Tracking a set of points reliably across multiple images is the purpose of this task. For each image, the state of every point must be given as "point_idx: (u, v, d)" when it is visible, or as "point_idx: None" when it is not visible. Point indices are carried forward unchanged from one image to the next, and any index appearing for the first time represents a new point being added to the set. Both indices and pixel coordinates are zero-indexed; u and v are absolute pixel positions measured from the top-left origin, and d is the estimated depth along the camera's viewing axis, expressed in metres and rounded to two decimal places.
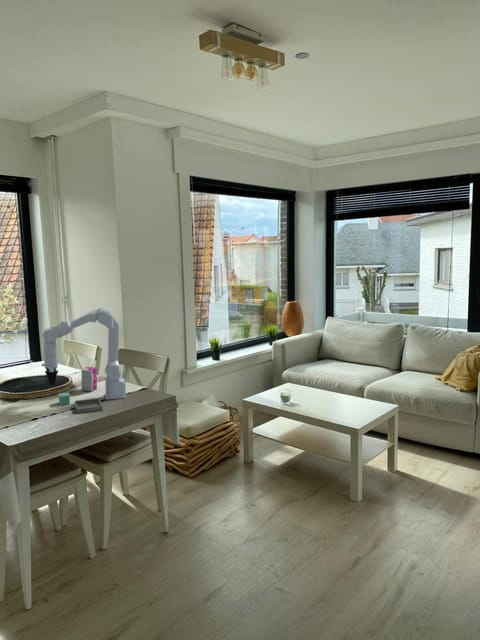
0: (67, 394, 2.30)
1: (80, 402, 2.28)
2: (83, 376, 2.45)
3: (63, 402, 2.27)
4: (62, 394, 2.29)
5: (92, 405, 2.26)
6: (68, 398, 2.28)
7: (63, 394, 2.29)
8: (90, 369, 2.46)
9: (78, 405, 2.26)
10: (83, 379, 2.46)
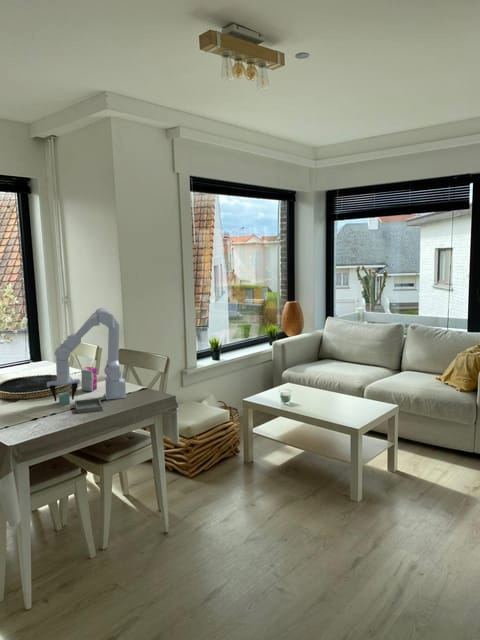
0: (67, 394, 2.30)
1: (80, 402, 2.28)
2: (83, 376, 2.45)
3: (63, 402, 2.27)
4: (62, 394, 2.29)
5: (92, 405, 2.26)
6: (68, 398, 2.28)
7: (63, 394, 2.29)
8: (90, 369, 2.46)
9: (78, 405, 2.26)
10: (83, 379, 2.46)
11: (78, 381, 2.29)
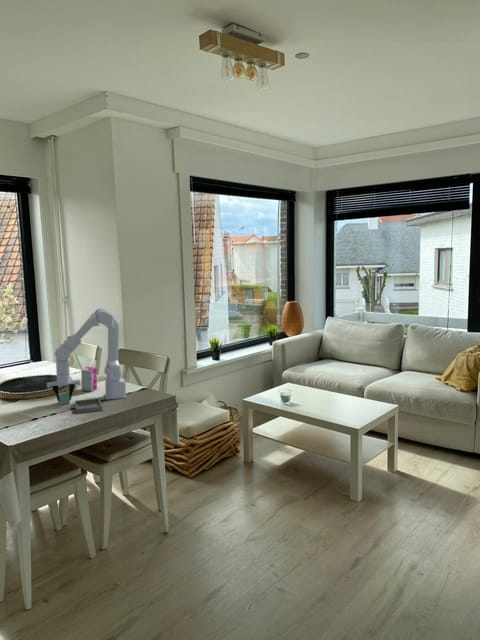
0: (67, 393, 2.30)
1: (80, 402, 2.28)
2: (83, 376, 2.45)
3: (63, 402, 2.27)
4: (62, 394, 2.29)
5: (92, 405, 2.26)
6: (68, 398, 2.28)
7: (63, 394, 2.29)
8: (90, 369, 2.46)
9: (78, 405, 2.26)
10: (83, 379, 2.46)
11: (78, 382, 2.29)
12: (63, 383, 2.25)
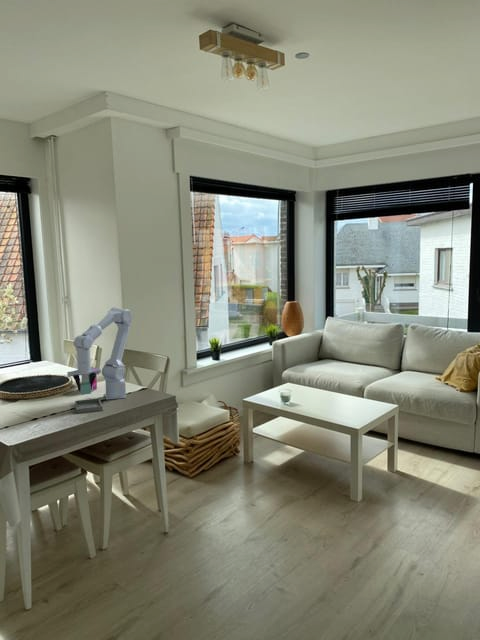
0: (87, 382, 2.24)
1: (80, 402, 2.28)
2: (83, 376, 2.45)
3: (84, 391, 2.22)
4: (83, 383, 2.23)
5: (92, 405, 2.26)
6: (89, 387, 2.23)
7: (84, 383, 2.23)
8: None
9: (78, 405, 2.26)
10: (83, 379, 2.46)
11: (99, 370, 2.25)
12: (85, 372, 2.20)
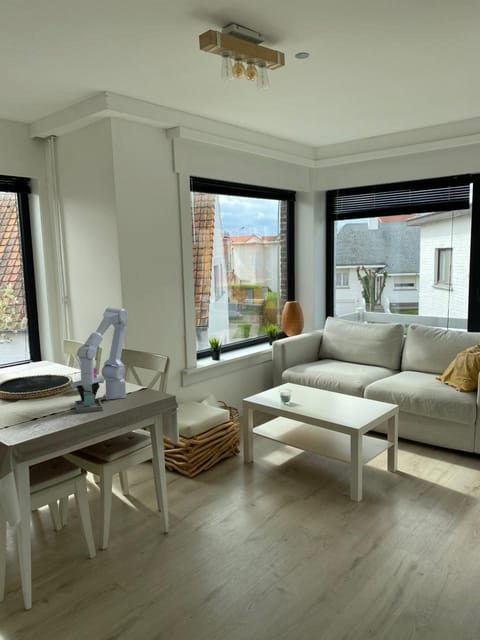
0: (91, 393, 2.25)
1: (80, 402, 2.28)
2: None
3: (88, 402, 2.22)
4: (86, 394, 2.23)
5: (92, 405, 2.26)
6: (93, 397, 2.23)
7: (87, 393, 2.23)
8: None
9: (78, 405, 2.26)
10: None
11: (102, 380, 2.25)
12: (89, 382, 2.20)
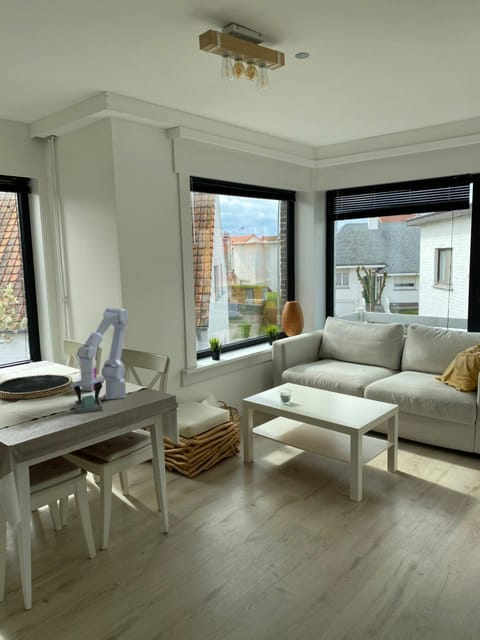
0: (91, 396, 2.25)
1: (80, 402, 2.28)
2: None
3: (88, 405, 2.22)
4: (87, 397, 2.24)
5: None
6: (93, 400, 2.23)
7: (87, 397, 2.24)
8: None
9: (78, 405, 2.26)
10: None
11: (102, 380, 2.26)
12: (89, 382, 2.20)
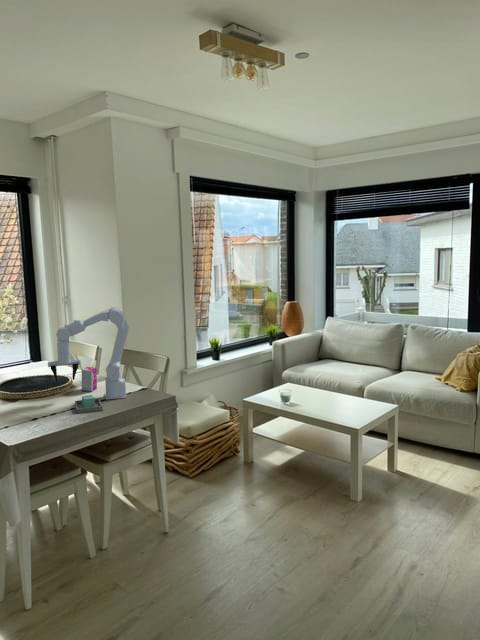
0: (91, 396, 2.25)
1: (80, 402, 2.28)
2: (83, 376, 2.45)
3: (88, 405, 2.22)
4: (87, 397, 2.24)
5: None
6: (93, 400, 2.23)
7: (87, 397, 2.24)
8: (90, 369, 2.46)
9: (78, 405, 2.26)
10: (83, 379, 2.46)
11: (79, 361, 2.32)
12: (64, 362, 2.27)
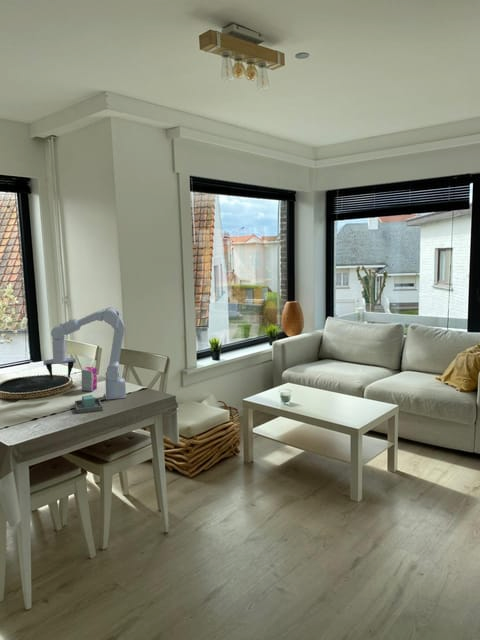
0: (91, 396, 2.25)
1: (80, 402, 2.28)
2: (83, 376, 2.45)
3: (88, 405, 2.22)
4: (87, 397, 2.24)
5: None
6: (93, 400, 2.23)
7: (87, 397, 2.24)
8: (90, 369, 2.46)
9: (78, 405, 2.26)
10: (83, 379, 2.46)
11: (74, 360, 2.34)
12: (59, 361, 2.29)
